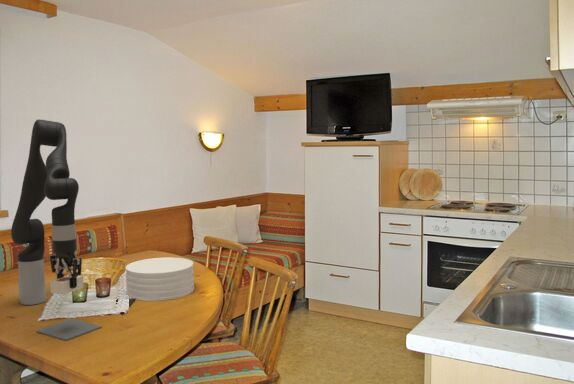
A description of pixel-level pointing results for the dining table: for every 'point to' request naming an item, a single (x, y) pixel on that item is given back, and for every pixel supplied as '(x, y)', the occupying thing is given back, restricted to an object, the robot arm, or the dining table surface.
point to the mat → (68, 329)
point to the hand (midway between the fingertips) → (67, 286)
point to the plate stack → (159, 278)
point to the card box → (65, 285)
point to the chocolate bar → (123, 312)
